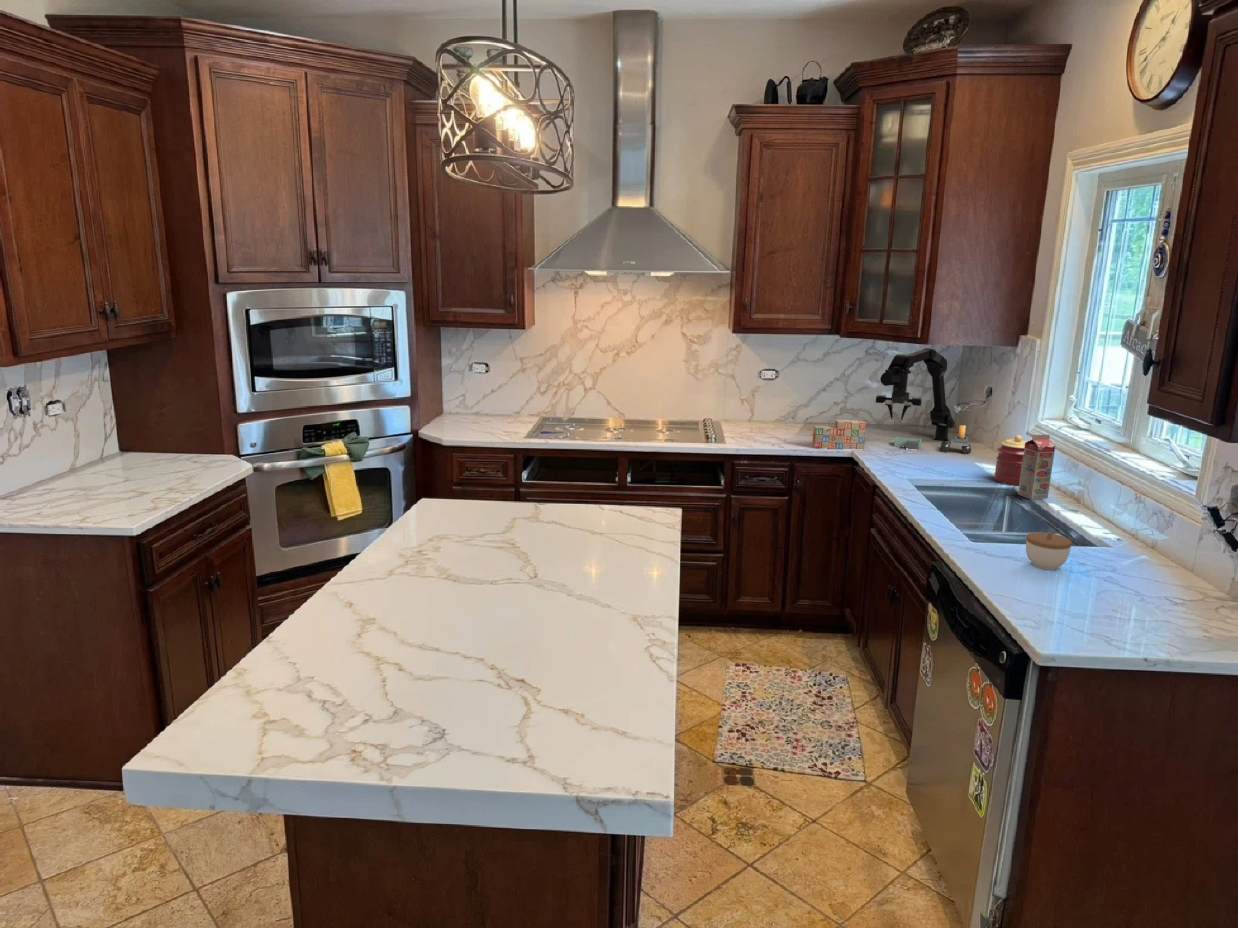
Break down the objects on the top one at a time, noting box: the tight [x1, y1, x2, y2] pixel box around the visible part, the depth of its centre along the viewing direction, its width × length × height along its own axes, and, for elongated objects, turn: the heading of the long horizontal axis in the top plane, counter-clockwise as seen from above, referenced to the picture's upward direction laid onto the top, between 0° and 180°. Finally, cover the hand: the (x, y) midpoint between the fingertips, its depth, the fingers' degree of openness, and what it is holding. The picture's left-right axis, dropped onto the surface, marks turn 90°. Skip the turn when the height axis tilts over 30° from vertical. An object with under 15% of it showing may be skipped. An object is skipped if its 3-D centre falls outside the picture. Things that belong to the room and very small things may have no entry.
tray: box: [893, 436, 922, 449], centre depth 366 cm, size 6×11×3 cm, turn 69°
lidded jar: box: [1025, 531, 1073, 571], centre depth 220 cm, size 11×11×9 cm
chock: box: [905, 441, 919, 451], centre depth 360 cm, size 4×5×4 cm
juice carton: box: [1017, 434, 1056, 500], centre depth 286 cm, size 7×7×22 cm
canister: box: [993, 434, 1029, 486], centre depth 306 cm, size 13×13×18 cm
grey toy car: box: [940, 435, 972, 455], centre depth 357 cm, size 8×12×6 cm, turn 69°
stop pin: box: [957, 424, 967, 439], centre depth 355 cm, size 3×3×7 cm
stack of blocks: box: [812, 419, 867, 451], centre depth 359 cm, size 21×6×12 cm, turn 85°
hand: (896, 419), depth 360 cm, fingers open, 4 cm apart
